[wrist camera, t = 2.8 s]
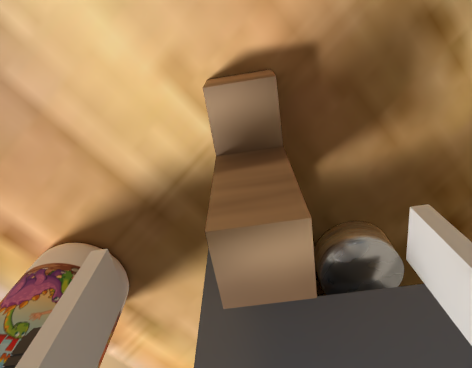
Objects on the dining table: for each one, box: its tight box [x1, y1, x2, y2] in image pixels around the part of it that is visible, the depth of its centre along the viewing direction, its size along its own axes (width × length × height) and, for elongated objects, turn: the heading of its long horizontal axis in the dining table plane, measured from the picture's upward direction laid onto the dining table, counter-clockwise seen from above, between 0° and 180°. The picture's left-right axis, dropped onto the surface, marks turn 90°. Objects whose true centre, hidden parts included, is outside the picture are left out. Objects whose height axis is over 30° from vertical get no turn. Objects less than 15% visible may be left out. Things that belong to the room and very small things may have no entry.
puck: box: [314, 221, 404, 295], centre depth 25 cm, size 6×6×3 cm
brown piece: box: [203, 69, 317, 309], centre depth 20 cm, size 22×4×11 cm, turn 9°
